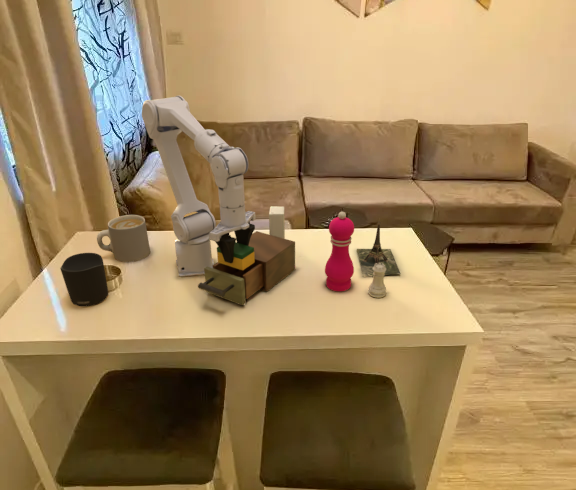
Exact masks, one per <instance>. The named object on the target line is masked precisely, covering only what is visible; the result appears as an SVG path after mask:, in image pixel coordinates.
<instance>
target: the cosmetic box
mask: <svg viewBox="0 0 576 490" xmlns="http://www.w3.org/2000/svg"><path fill="white" fill-rule="evenodd" d="M268 221H269V222H268V227H269V228H268V229H269V233H268V234H269V235H273V236H276V237H280V238H284V239H286V230H285V229H286V228H285V227H286V226H285V225H286V223H285V221H286V220H285V206H278V205H277V206H276V205H275V206H274V205H273V206H272V205H271V206H270V207H269V212H268Z"/></svg>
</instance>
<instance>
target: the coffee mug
mask: <svg viewBox="0 0 576 490" xmlns="http://www.w3.org/2000/svg"><path fill="white" fill-rule="evenodd" d="M107 228H108V229H103V230H101V231H99V232H98V233H97V235H96V242H97V245H98V247H99V248H100V249H101V250H102V251H105V252H110V253H112V254H113V257H114V259H115V260H116V261H119V262H122V263H134V262H138V261H141V260H144V259H146V258H148V257H149V255H150V254H151V247H150V241H149V235H148V230H147V224H146V219H145V217H144V216H142V215H139V214H125V215H120V216H116V217H114V218H112V219H110V220H109V221H108V222H107ZM104 237H108V238H109V240H110V241H109V243H108V244H105V243H104V242H103V238H104Z"/></svg>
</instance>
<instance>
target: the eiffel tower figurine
mask: <svg viewBox="0 0 576 490" xmlns="http://www.w3.org/2000/svg"><path fill="white" fill-rule="evenodd" d="M380 218H381V217H379V220H378V221H377V229H376V233H375V237H374V243H373V246H372V247H371V248H356V252H357V253H356V254H357V258H358V260H359V264H360V269H361V276H362V277H363V278H364V277H365V278H366V277H374V275H373V273H374V270H373V267H374V265H375V264H376V263H377V265H378V264H379V263H381V265H382V264H384V265H385V268H386V271H385V272H384V274H385V276H387V275H388V276H389V275H401V270H400V268H399V267H398V264H397V261H396V258H395V256H394V253H393V252H392V249H391V248H382V246H381V245H382V244H381V221H380V220H381V219H380Z"/></svg>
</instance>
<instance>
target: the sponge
mask: <svg viewBox="0 0 576 490" xmlns="http://www.w3.org/2000/svg"><path fill="white" fill-rule="evenodd" d="M216 255H217V262H218V263H221V264H224V265H227V266H231V267H234V268H237V269H240V270H244V269H246V268H247V267H248V266H250V265H251V264H253V263H254V262H255V258H254V247H250V246H247V245H243V244H240V243H237V241H236V242H235V245H234V259H233V263H228V262H225V261H224V258H223V255H222V253H221V250H220V248H219V247H218V246H217V247H216Z"/></svg>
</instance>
